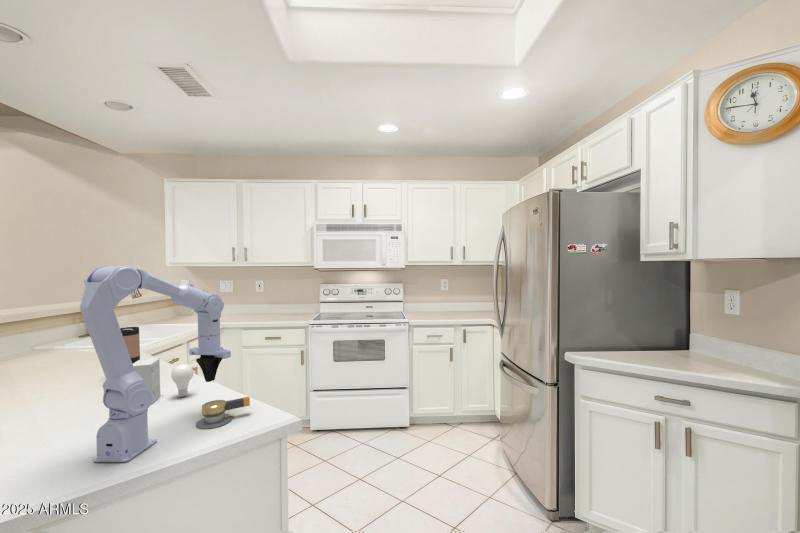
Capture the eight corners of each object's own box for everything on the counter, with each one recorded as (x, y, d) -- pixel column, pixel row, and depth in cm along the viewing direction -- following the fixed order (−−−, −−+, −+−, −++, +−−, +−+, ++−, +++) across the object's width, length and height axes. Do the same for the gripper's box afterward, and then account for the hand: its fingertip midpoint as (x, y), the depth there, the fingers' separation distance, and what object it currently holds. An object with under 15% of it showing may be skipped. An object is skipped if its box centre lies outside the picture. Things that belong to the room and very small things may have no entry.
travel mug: (119, 377, 141) (118, 327, 141) (142, 374, 144) (141, 326, 144) (113, 382, 134) (112, 330, 134) (137, 379, 137) (136, 328, 137)
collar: (202, 419, 94) (202, 410, 94) (201, 411, 99) (201, 402, 99) (250, 408, 100) (250, 400, 100) (247, 401, 105) (247, 393, 105)
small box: (139, 398, 117) (138, 359, 117) (161, 396, 119) (160, 357, 119) (128, 407, 109) (127, 366, 109) (151, 404, 111) (150, 364, 111)
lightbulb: (183, 400, 114) (182, 367, 114) (167, 399, 115) (166, 366, 115) (198, 393, 120) (197, 361, 120) (182, 392, 121) (181, 361, 121)
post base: (221, 429, 93) (221, 420, 93) (188, 429, 94) (188, 420, 94) (238, 414, 102) (238, 406, 102) (208, 414, 103) (208, 406, 103)
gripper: (238, 333, 104) (239, 378, 104) (203, 331, 109) (204, 374, 109) (218, 338, 97) (219, 386, 98) (182, 335, 103) (183, 381, 103)
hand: (210, 380), depth 103 cm, fingers closed
